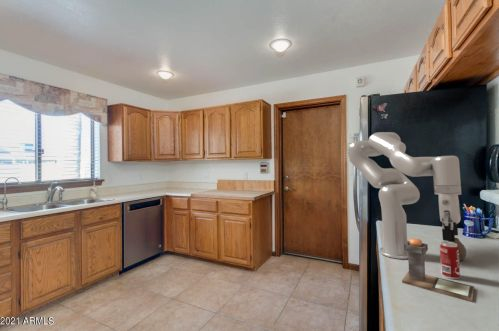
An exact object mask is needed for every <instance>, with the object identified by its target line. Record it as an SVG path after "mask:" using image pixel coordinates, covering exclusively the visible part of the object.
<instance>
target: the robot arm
mask: <svg viewBox="0 0 499 331" xmlns="http://www.w3.org/2000/svg"><path fill="white" fill-rule="evenodd" d="M347 147H348V148H347V156H348V159H349V161H350V162H351V164H352V165H353V166H354V167H355V168H356V169H357V170H358V171H359V172H360V173H361V174H362V176H363V177H364V179H366V180H367V182H368V183H369V184H370V185H371V186H372V187H373V188H375V189H379V191H378V199H379V202H380V207H381V208H380V209H381V222H382V223H381V224H382V226H381V228H382V243H383V244H382V246H383V247H381V248H379V253H380V254H381V255H383V256H385V257H387V258H390V259H392V258H393V259H397V260H398V259H399V260H405V259H406V260H407V259H408V251H406V250H404V244H405V243H406V242H407V241H408V226H407V224H408V223H407V213H406V212H405V209H404V208H403V206H404V205H413V204H415V203H417V202H418V201H419V200H420V196H421V194H420V190H419V188H418V187H417V185H415V184H414V183H413V182H412V181H411V180H410V179H409V178H408V177H411V178H415V177H416V178H418V177H433V191H434V195H438V210H439V220H440V222H441V223H442V226H441V227H442V228H441V231H442V232H441V233H442V240H443V241H447V242H448V241H451V242H455V238H456V236H458V235H459V231H458V224H459V223H460V222H461V217H462V216H461V208H460V200H459V196H460V195H462V186H461V170H460V159H459V157H458V156H457V155H441V156H439V155H438V156H418V157H417V156H411V155H409V154H407V153H406V151H407V150H406V149H407V146H406V144H405V143H404V142H402V140H401V137H400V136H399V134H397V133H396V132H393V131H392V132H391V131H390V132H388V131H387V132H386V131H385V132H384V131H382V132H381V131H379V132H374V133H372V134H371V135H370V136H369V137H368V140H356V141H353V142H351V143H350V144H349V145H348V146H347ZM382 155H384V157H385V156H386V157H387V158H388V160H389V162H390V164H391V166H392V168H391V167H389V168H383V167H381V166H380V165H378V163H377V162H376V161H375V160H373V159H371V158H370V157H378V156H382ZM407 176H408V177H407Z"/></svg>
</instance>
